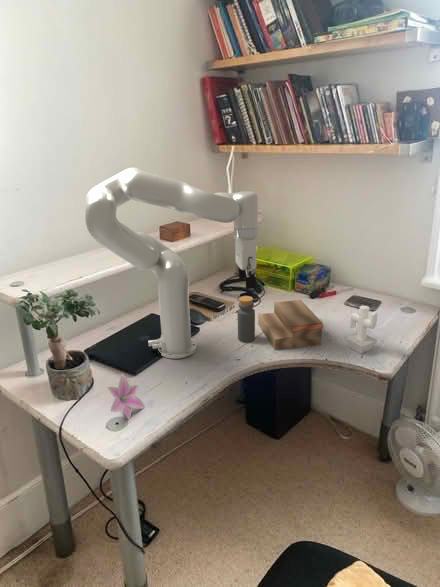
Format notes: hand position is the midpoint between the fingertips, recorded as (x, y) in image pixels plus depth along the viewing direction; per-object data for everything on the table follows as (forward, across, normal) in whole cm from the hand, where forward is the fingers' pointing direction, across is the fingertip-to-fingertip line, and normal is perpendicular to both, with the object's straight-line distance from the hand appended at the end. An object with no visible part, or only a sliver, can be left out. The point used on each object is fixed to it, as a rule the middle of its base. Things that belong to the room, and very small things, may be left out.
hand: (247, 283), depth 149 cm
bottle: (+21, 0, -1) cm, 21 cm away
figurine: (+21, +16, +33) cm, 43 cm away
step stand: (+21, 0, +14) cm, 25 cm away
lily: (+20, +32, -42) cm, 56 cm away
